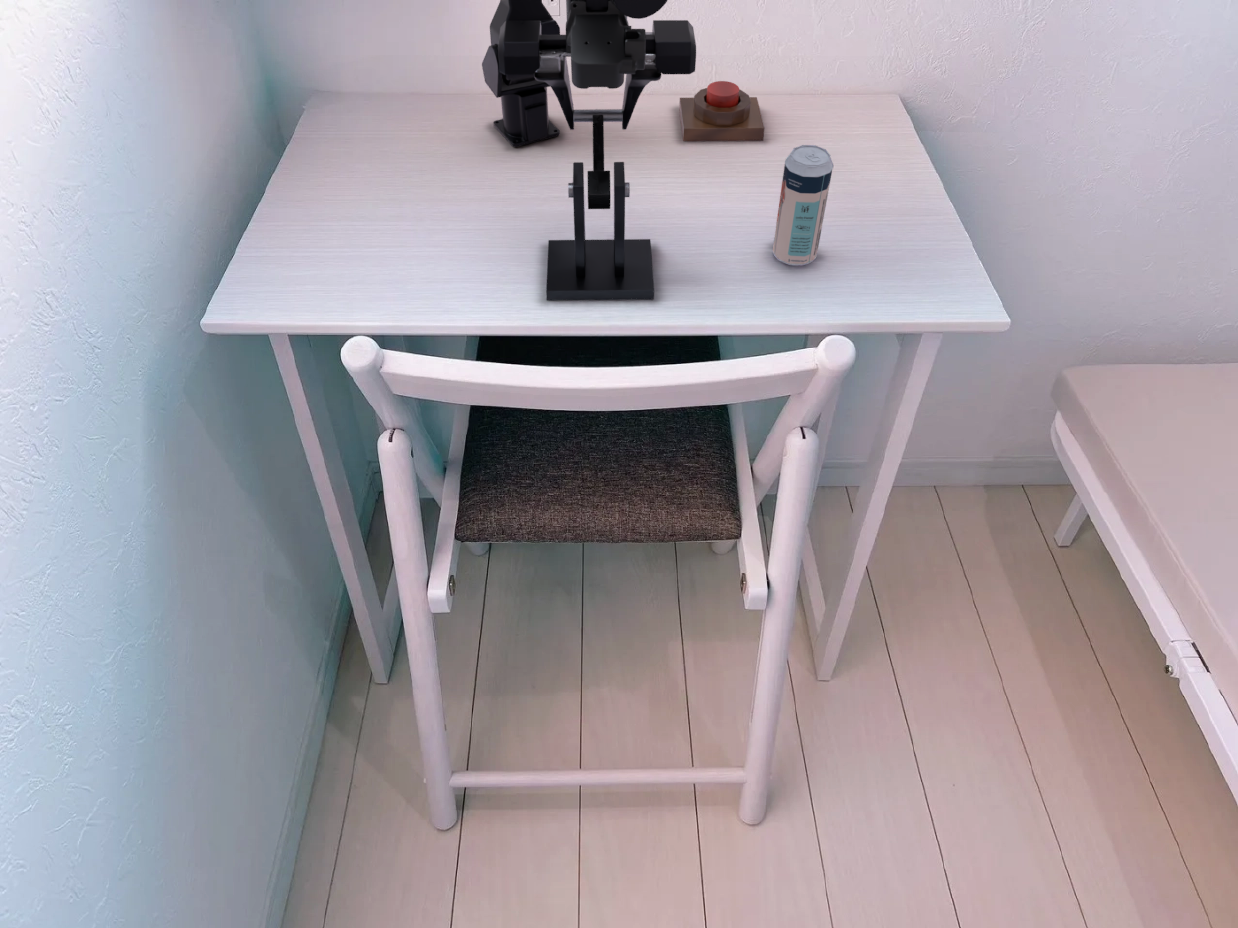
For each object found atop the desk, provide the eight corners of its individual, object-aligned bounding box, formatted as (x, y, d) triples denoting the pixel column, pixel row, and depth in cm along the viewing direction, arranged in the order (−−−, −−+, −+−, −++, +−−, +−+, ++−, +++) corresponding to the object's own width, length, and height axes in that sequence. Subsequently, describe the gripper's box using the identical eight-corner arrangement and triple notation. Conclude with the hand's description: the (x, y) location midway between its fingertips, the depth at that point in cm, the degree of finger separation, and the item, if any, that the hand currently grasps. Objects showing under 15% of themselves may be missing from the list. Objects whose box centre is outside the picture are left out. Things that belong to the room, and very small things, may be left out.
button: (707, 109, 121) (708, 96, 120) (704, 94, 124) (705, 81, 123) (739, 109, 122) (741, 96, 120) (736, 94, 124) (737, 80, 123)
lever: (573, 119, 101) (572, 103, 98) (622, 118, 101) (622, 102, 99) (573, 209, 97) (573, 194, 95) (624, 209, 97) (625, 194, 95)
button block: (683, 141, 122) (684, 114, 120) (679, 110, 128) (680, 84, 125) (762, 140, 122) (766, 114, 120) (755, 109, 128) (758, 83, 125)
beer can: (797, 238, 108) (813, 138, 99) (825, 260, 105) (845, 158, 97) (762, 252, 106) (776, 151, 98) (791, 274, 104) (807, 172, 95)
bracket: (549, 249, 107) (543, 150, 98) (650, 248, 107) (653, 149, 98) (546, 300, 100) (540, 199, 92) (653, 299, 101) (657, 198, 92)
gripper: (487, 12, 84) (502, 172, 95) (706, 11, 84) (694, 171, 96) (495, -43, 91) (508, 112, 103) (696, -44, 91) (686, 111, 103)
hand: (597, 127), depth 101 cm, fingers closed on lever, 5 cm apart
